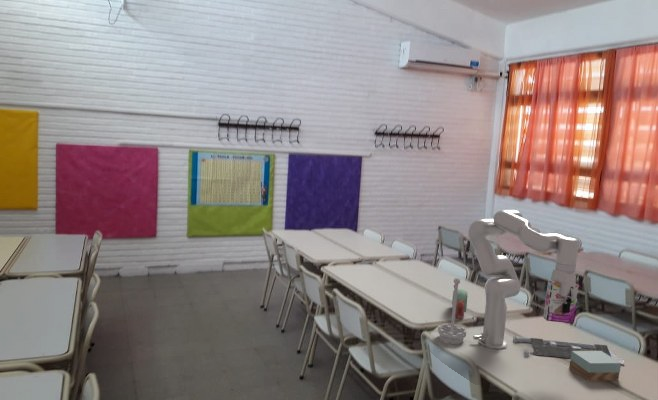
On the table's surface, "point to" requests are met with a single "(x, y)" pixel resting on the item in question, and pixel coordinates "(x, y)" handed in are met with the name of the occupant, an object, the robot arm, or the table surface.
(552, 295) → the candy bar box
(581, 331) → the table surface
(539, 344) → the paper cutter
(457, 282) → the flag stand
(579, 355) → the tower top slab
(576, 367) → the tower base slab
